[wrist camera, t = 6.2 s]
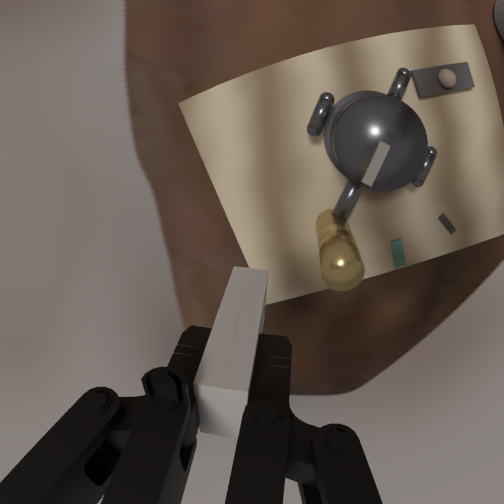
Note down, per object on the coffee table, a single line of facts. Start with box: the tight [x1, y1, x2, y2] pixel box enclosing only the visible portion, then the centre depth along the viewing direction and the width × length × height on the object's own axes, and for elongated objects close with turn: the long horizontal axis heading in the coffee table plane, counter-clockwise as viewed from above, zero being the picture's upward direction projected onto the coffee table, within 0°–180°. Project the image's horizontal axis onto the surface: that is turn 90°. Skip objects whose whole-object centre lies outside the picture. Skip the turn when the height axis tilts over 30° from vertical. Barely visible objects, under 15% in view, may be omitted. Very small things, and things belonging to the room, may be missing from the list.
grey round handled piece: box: [307, 67, 437, 291], centre depth 17 cm, size 14×9×7 cm, turn 160°
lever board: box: [178, 24, 504, 305], centre depth 21 cm, size 24×18×4 cm
